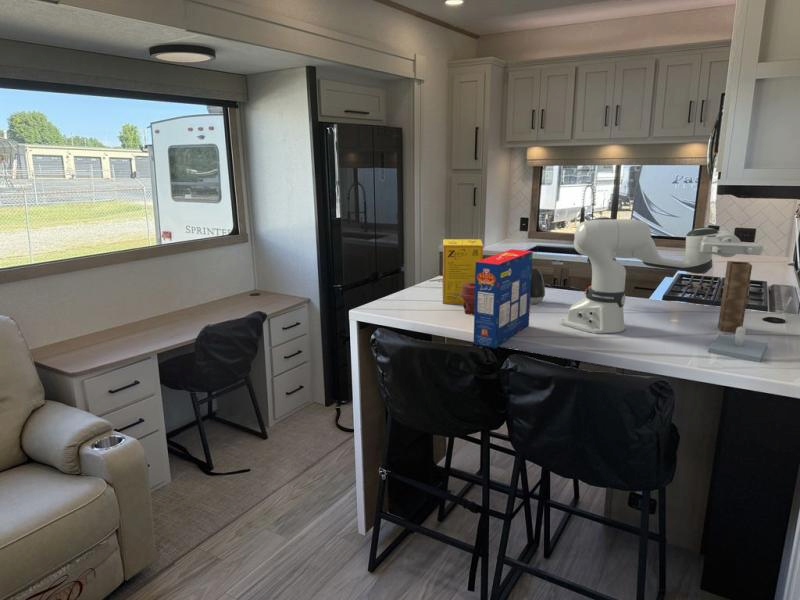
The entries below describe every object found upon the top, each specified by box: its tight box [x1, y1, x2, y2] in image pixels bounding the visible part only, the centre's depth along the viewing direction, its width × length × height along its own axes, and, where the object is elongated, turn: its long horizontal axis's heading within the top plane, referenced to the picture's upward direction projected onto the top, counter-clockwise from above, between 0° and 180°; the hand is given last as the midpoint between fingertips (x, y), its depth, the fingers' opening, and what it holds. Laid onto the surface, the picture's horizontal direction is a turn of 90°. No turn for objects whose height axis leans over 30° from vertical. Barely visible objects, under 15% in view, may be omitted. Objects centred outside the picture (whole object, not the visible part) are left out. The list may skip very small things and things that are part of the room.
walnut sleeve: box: [717, 260, 753, 334], centre depth 194 cm, size 6×6×24 cm
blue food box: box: [473, 248, 534, 349], centre depth 191 cm, size 28×8×28 cm, turn 145°
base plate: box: [707, 327, 768, 363], centre depth 176 cm, size 14×16×8 cm
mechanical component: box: [460, 282, 475, 315], centre depth 220 cm, size 12×10×10 cm
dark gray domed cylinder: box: [530, 266, 546, 305], centre depth 233 cm, size 10×10×15 cm
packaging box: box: [442, 238, 484, 305], centre depth 239 cm, size 16×16×25 cm
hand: (733, 251), depth 202 cm, fingers open, 8 cm apart
